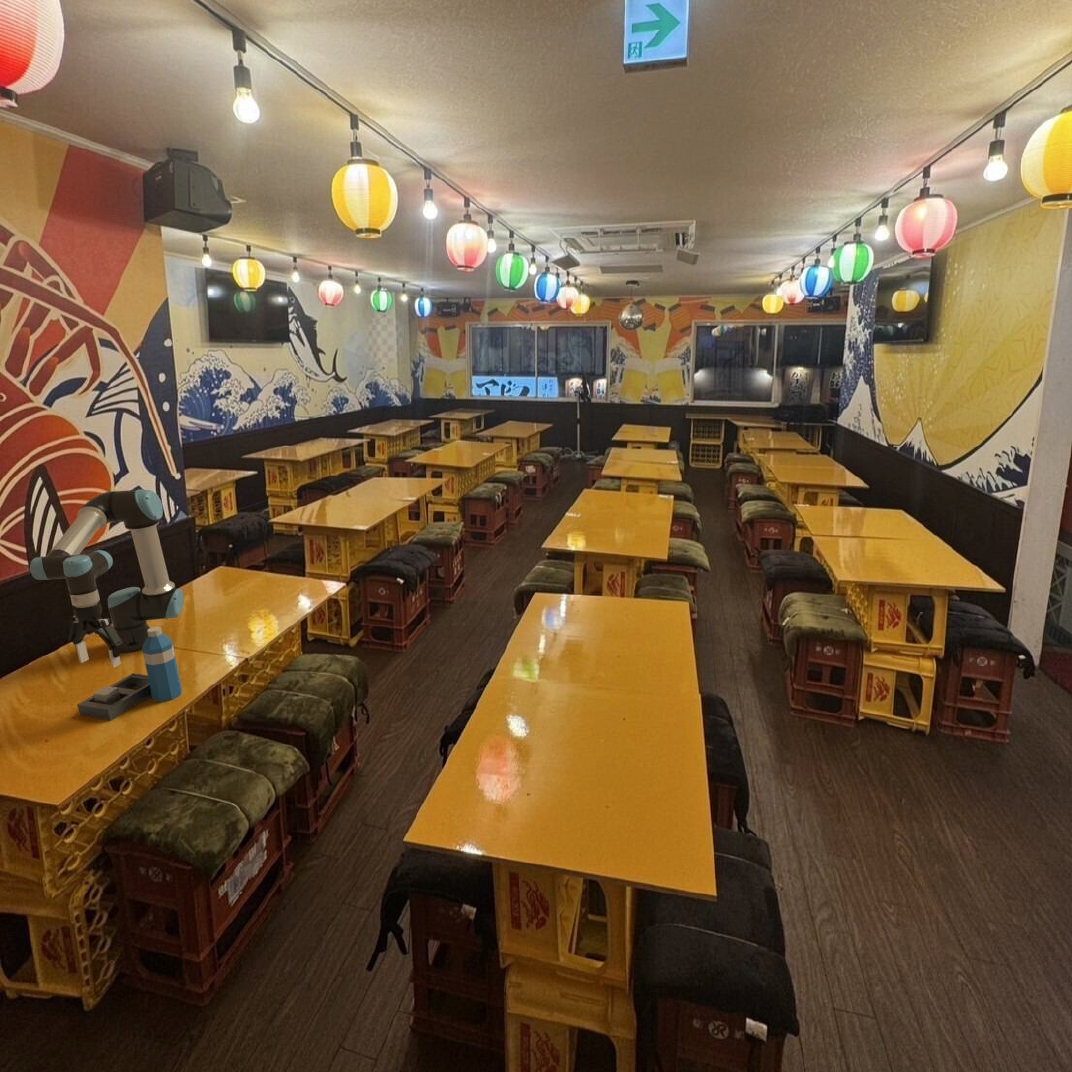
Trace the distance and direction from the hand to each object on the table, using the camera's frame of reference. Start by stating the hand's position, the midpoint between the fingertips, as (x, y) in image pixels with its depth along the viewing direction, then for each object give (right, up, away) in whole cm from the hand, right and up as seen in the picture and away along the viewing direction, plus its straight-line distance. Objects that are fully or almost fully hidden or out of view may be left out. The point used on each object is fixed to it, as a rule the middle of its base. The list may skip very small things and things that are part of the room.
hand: (100, 663), depth 223 cm
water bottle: (+16, -14, +12) cm, 24 cm away
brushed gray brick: (+1, -16, +4) cm, 17 cm away
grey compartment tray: (+2, -15, +9) cm, 17 cm away
